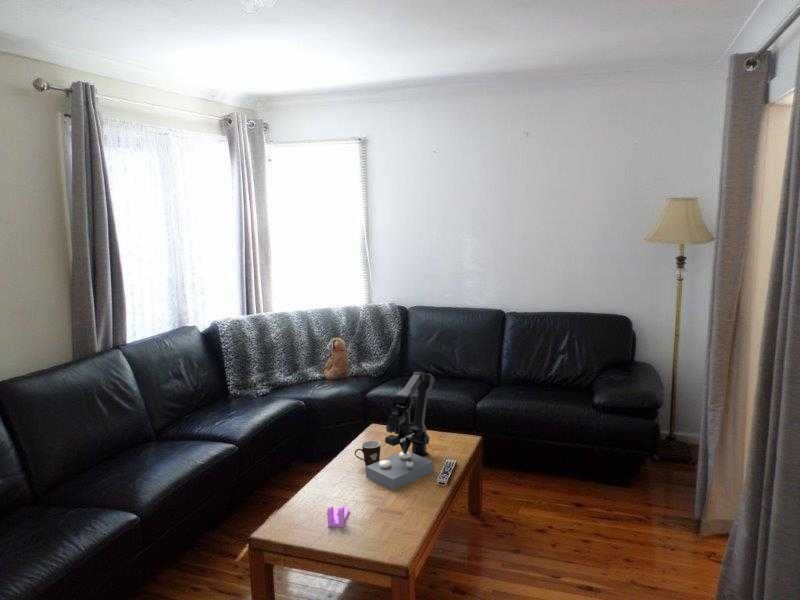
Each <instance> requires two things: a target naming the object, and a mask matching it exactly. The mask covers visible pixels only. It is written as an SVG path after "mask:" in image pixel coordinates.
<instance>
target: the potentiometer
mask: <svg viewBox="0 0 800 600" xmlns="http://www.w3.org/2000/svg"><path fill="white" fill-rule="evenodd" d="M406 469H407V470H412V469H413V461H411V460H410V458H409V461H406Z"/></svg>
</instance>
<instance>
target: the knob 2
mask: <svg viewBox="0 0 800 600" xmlns="http://www.w3.org/2000/svg"><path fill="white" fill-rule="evenodd" d="M410 452H411V451H409V452H407V453H406V454H404V453H403V452H402V451H400V452H398V453H399V458H401V459H403V460H406V459H408V458H410V457H411V453H412V452H411V453H410Z"/></svg>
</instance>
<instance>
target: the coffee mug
mask: <svg viewBox="0 0 800 600" xmlns="http://www.w3.org/2000/svg"><path fill="white" fill-rule="evenodd" d="M361 446H362V448H356V450H355V451H354V456H355V457H356V458H357V459H359V460H361V461H363V462H364V464H365V467H366V466H368V465H371V464H373V463H376V462H378V461H380V460H381V459H380V457H381V446H382V445H381V442H380V441H378V440H367V441H364V442H362V443H361ZM358 451H361V453H362V455H363V458H361V457H359V456H358V455H357V452H358Z"/></svg>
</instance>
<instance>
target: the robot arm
mask: <svg viewBox="0 0 800 600" xmlns="http://www.w3.org/2000/svg"><path fill="white" fill-rule="evenodd" d="M434 383H435V377H434V376H433V374H431V373H425V372H423V371H422V372H420V371H413V372H412V375H411V377H410V378H409V380H408V382H407V383H406V385H405V386H404V388H403V389H400V390H398V391H397V392H396V393H395V395H394V396H393V400H392V404H391V408H390V410H391V411H393V412H391V415H390V416H388V418H387V425H385V426H386V428H385V430H386V432H387V433H389V434H390V435H387V436H385V438H384V443H385V444H387V445H390V446H391V447H395V446H397V445H398V446H400V448H401V452H402V451H403V453H404V454H406V453H407V451H408V450H409V449H410V446H411V445H412V446H411V453H414V454H416V455H419V456H421V457H425V456H428V455H430V453H429V452H427V445H429V443H430V435H428V433H427V426H426V425H425V419H426V413H427V412H426V411H427V403H428V396H429V393H430V391H431V390H432V389H433V386H434ZM416 391H417V399H416V405H415V406H416V407H415V412H414V414H415V415H414V421H412V422H411V411H410V410H411V409H412V404H413V400H414V399H413V395H414V394H415V392H416ZM392 433H394V434H395V435H394V434H392Z"/></svg>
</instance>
